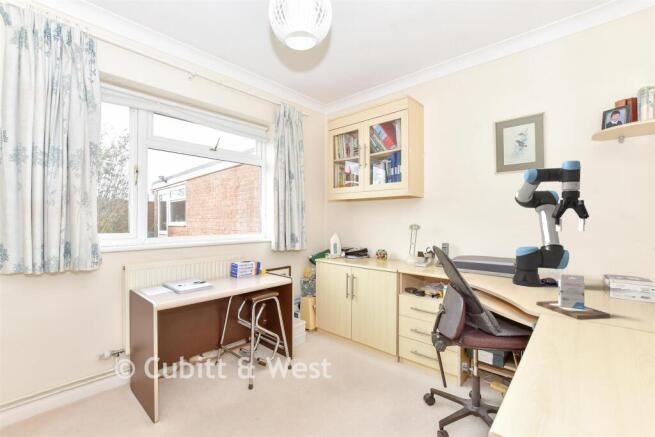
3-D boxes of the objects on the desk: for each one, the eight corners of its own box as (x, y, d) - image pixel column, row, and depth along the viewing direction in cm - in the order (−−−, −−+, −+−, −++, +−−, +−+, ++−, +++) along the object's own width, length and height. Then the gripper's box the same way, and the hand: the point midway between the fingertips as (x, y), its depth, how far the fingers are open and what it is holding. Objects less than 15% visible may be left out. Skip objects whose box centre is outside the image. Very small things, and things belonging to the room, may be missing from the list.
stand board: (536, 304, 143) (536, 301, 143) (565, 303, 146) (565, 299, 146) (577, 319, 124) (577, 314, 124) (609, 317, 126) (609, 313, 126)
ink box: (581, 306, 135) (582, 274, 135) (584, 309, 131) (585, 275, 130) (557, 304, 139) (558, 272, 139) (560, 306, 135) (560, 274, 134)
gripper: (556, 189, 151) (555, 231, 152) (598, 190, 155) (597, 231, 155) (543, 190, 159) (542, 230, 159) (584, 191, 163) (583, 230, 163)
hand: (570, 231), depth 157 cm, fingers open, 13 cm apart
